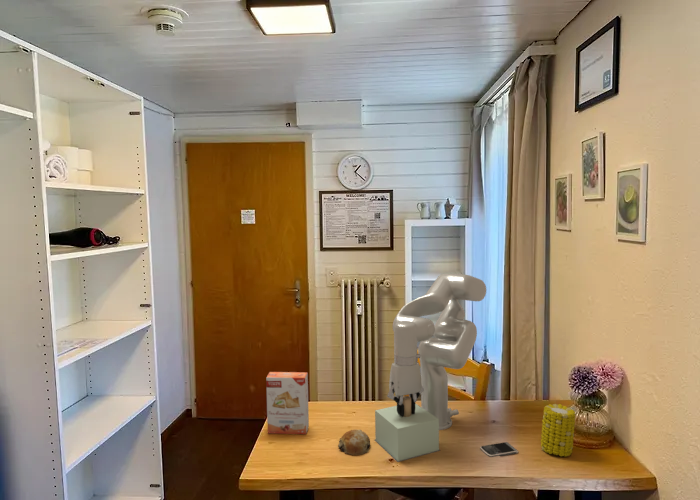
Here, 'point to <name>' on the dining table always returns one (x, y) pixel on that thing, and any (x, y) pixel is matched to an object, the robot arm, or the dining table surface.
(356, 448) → the bread roll
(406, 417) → the pale green box
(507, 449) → the cell phone
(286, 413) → the cracker box
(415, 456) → the mat
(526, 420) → the dining table surface
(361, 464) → the dining table surface
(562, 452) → the food
